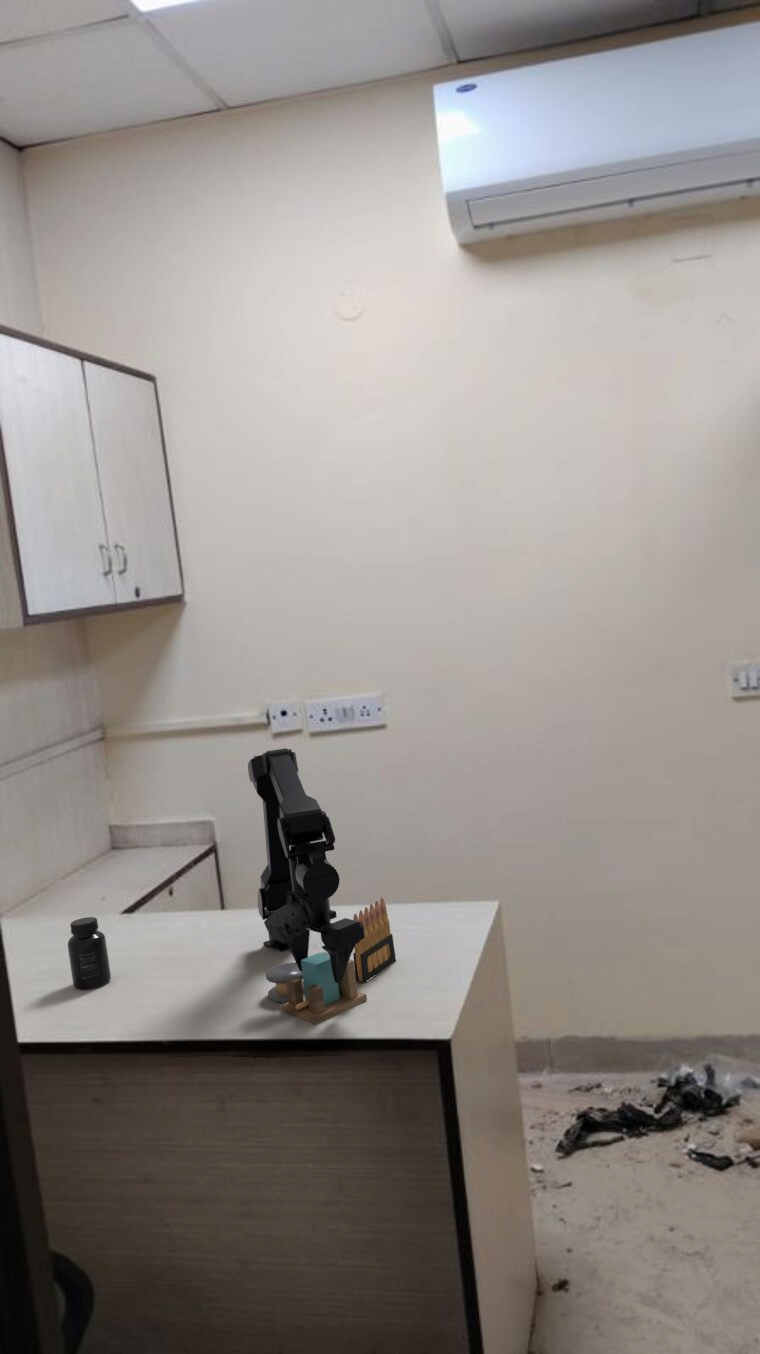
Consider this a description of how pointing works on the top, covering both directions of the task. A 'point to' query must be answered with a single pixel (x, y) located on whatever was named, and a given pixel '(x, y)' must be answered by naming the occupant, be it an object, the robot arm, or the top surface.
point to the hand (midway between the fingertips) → (320, 976)
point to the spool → (282, 981)
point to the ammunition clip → (373, 943)
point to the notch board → (316, 1001)
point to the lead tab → (319, 978)
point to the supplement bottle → (88, 955)
